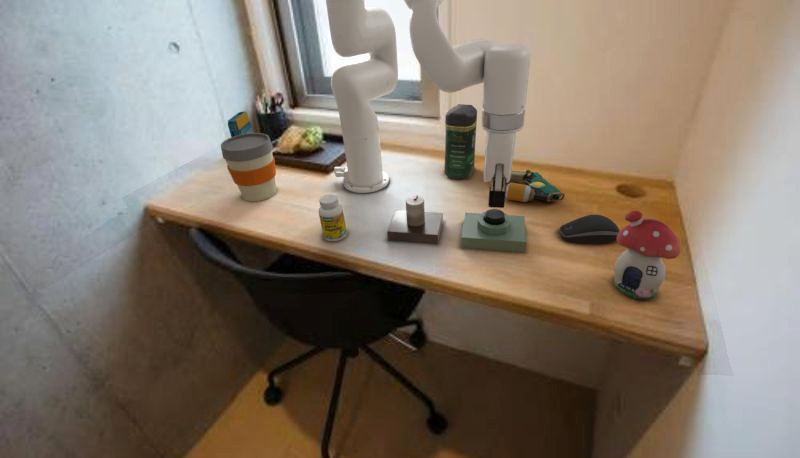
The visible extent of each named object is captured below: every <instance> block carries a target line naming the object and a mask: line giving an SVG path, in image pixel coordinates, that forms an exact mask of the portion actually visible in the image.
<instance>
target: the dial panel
mask: <svg viewBox="0 0 800 458" xmlns="http://www.w3.org/2000/svg"><path fill="white" fill-rule="evenodd" d="M424 212H425V222H424V224H423V225H421V226H410V225H408V224H407V216H406V210H398V209H396V210H395V212H394V215H393V217H392V219H391V221H390V224H389V226H388V229H387V230H386V231H387V232H386V233H387V234H386V235H387V241H388V242H400V243H401V242H402V243H415V244H416V243H417V244H428V245H439V240H440V236H441V231H442V227H443V223H444V213H443V212H433V211H432V212H431V211H424Z"/></svg>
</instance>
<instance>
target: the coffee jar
mask: <svg viewBox="0 0 800 458" xmlns="http://www.w3.org/2000/svg"><path fill="white" fill-rule="evenodd" d="M444 118H445V119H444V127H445V128H444V129H445V136H444V137H445V138H444V140H445V142H444V144H445V145H444V175H445V176H447V177H449V178H452V179H456V180H459V179H467V178H469V177H470V176H471V175H472V174H473V172H474V170H475V157H476V139H477V138H476V136H477V125H478V109H477V108H476V107H474V105H473V104H464V103H458V104H457V105H455V106H452V107H451V108H450V109H449V110H448V111H447V112H446V114H445V117H444Z"/></svg>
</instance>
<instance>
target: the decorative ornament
mask: <svg viewBox="0 0 800 458" xmlns="http://www.w3.org/2000/svg"><path fill="white" fill-rule="evenodd" d="M624 220H625V221H626V222H629V223H628V224H627V225H625V226H623V228H622V229H620V232H619V233H618V235H617V241H616V242H617V244H618V245H619V246H621V247H623V248H626V250H624V251H623V252H622V253H621V254H620V255H619V256H618V257H617V259H616V260H615V263H614V267H613V273H614V281H613V282H614V283H613V286H614V287H615V288H616V289H617V290H618V291H619V292H621V294H623V295H625V296H627V297H629V298H632V299H634V300H638V301H650V300H653V299H655V298H657V295H658V291H659V288H660V287H661V286H662V284H663V283H664V281H665V279H666V276H667V274H666V273H667V271H666V266H665V263H664V261H663V259H666V260H673V259H677V258H678V257H679V255H680V253H681V245H680V242H679V240H678V236H677V235H676V233H675V231H674V230H673V229H672V228H671V227H670V226H668V225H667V224H666V223H664V222H663V221H661V220H658V219H655V218H643V213H642V212H641V211H639V210H630V211H628V212H627V213H626V214H625V215H624Z"/></svg>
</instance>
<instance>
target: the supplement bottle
mask: <svg viewBox="0 0 800 458" xmlns="http://www.w3.org/2000/svg"><path fill="white" fill-rule="evenodd" d="M339 202H340V201H339V196H338V195H336V194H332V193H330V194H325V195H323V196H320V198H319V206H320V207H319V208H318V217H319V221H320V227H321V231H322V235H323V239H324V240H326V241H328V242H338V241H341V240H343V239H344V238H345V237H346V236H347V233H348V231H347V224H346V218H345V212H344V207H343V205H342V204H340V203H339Z"/></svg>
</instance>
